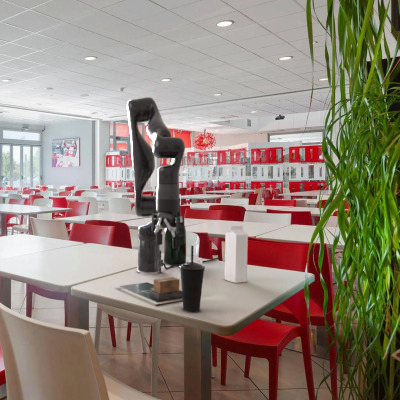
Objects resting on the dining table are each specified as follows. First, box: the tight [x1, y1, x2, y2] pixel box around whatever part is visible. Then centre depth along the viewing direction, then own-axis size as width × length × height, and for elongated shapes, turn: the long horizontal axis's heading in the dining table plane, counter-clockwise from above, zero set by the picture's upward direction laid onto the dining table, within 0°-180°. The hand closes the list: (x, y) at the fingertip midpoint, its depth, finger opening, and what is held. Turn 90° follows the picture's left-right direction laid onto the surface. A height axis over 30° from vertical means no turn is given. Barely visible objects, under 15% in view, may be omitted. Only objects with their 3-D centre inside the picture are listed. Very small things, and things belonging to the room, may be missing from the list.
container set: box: [188, 256, 203, 266], centre depth 179 cm, size 20×5×6 cm, turn 155°
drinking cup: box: [178, 245, 206, 313], centre depth 129 cm, size 8×8×20 cm
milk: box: [224, 225, 249, 284], centre depth 167 cm, size 6×6×22 cm
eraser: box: [150, 276, 182, 301], centre depth 140 cm, size 10×5×6 cm, turn 117°
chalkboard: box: [118, 282, 183, 307], centre depth 148 cm, size 14×24×1 cm, turn 27°
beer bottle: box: [163, 197, 187, 266], centre depth 201 cm, size 10×10×33 cm
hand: (167, 246), depth 140 cm, fingers open, 8 cm apart
